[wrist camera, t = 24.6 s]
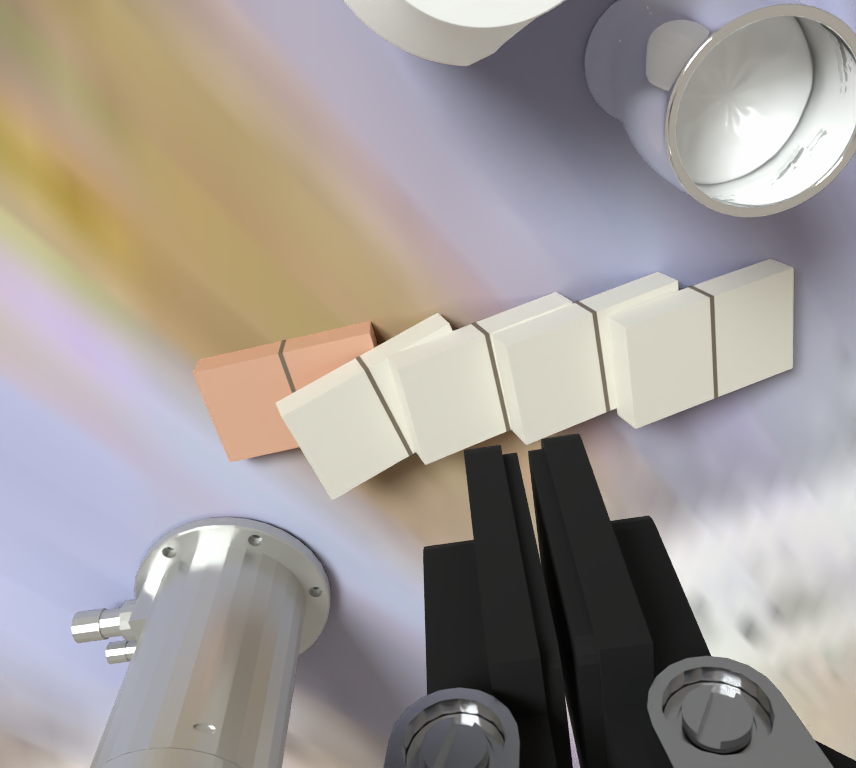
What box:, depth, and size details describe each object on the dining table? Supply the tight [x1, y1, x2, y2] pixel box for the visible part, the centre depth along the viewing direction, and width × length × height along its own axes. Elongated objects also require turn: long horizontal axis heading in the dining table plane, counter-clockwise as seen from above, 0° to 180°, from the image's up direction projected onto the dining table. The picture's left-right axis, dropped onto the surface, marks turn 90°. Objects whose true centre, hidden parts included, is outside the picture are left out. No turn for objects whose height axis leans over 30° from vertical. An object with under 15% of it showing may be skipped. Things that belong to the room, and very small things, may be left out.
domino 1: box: [193, 321, 378, 462], centre depth 47 cm, size 2×6×10 cm
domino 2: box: [276, 313, 452, 500], centre depth 45 cm, size 2×6×10 cm
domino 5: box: [607, 259, 794, 429], centre depth 44 cm, size 2×6×10 cm
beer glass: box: [584, 0, 856, 217], centre depth 33 cm, size 7×7×15 cm
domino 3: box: [387, 292, 572, 465], centre depth 44 cm, size 2×6×10 cm
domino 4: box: [492, 272, 679, 445], centre depth 44 cm, size 2×6×10 cm
